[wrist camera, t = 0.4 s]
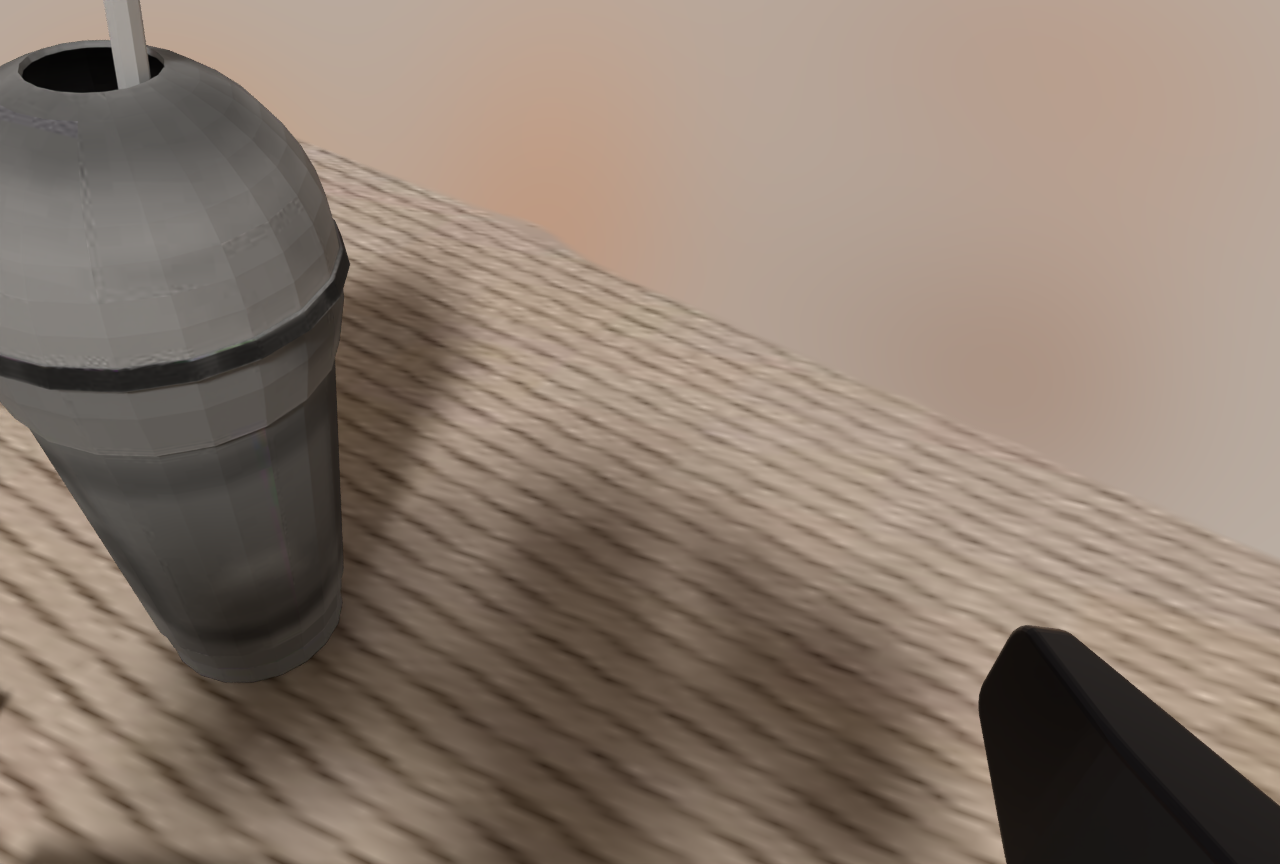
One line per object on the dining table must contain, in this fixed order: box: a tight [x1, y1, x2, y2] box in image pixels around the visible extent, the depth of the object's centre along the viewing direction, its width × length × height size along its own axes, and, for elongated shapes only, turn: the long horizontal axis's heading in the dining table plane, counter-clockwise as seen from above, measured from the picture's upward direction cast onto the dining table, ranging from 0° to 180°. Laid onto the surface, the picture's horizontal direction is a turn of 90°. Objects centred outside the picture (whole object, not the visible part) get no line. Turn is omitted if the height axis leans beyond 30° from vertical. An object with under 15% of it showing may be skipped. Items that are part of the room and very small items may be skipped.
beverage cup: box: [0, 0, 350, 682], centre depth 18 cm, size 7×7×20 cm
